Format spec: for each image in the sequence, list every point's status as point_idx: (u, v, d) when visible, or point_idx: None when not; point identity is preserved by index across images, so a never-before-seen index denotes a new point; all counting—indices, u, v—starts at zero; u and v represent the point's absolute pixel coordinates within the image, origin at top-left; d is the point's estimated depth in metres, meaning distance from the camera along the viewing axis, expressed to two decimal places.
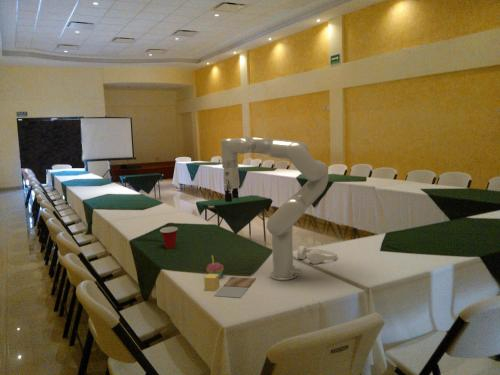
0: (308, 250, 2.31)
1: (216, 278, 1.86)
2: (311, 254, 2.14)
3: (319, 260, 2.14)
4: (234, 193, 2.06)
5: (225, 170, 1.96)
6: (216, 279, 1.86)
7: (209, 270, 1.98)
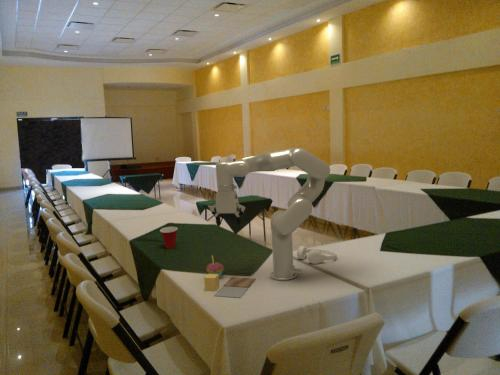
0: (308, 250, 2.31)
1: (216, 278, 1.86)
2: (311, 254, 2.14)
3: (319, 260, 2.14)
4: (219, 220, 1.94)
5: (234, 193, 1.89)
6: (216, 279, 1.86)
7: (209, 270, 1.98)
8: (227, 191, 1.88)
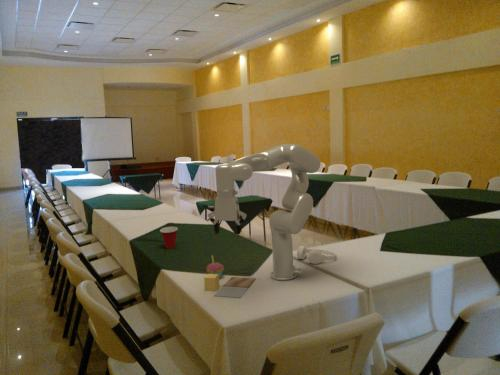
0: (308, 250, 2.31)
1: (216, 278, 1.86)
2: (311, 254, 2.14)
3: (319, 260, 2.14)
4: (217, 227, 1.80)
5: (235, 199, 1.75)
6: (216, 279, 1.86)
7: (209, 270, 1.98)
8: (227, 197, 1.73)
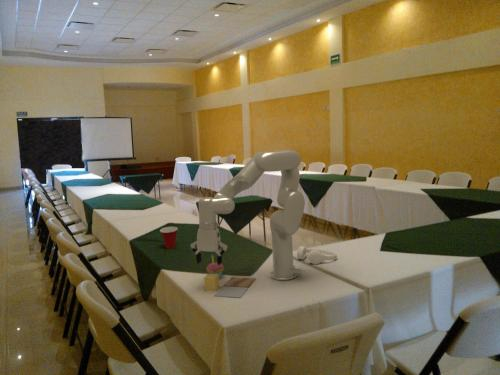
0: (308, 250, 2.31)
1: (216, 278, 1.86)
2: (311, 254, 2.14)
3: (319, 260, 2.14)
4: (199, 257, 1.87)
5: (216, 231, 1.82)
6: (216, 279, 1.86)
7: (209, 270, 1.98)
8: (209, 229, 1.81)
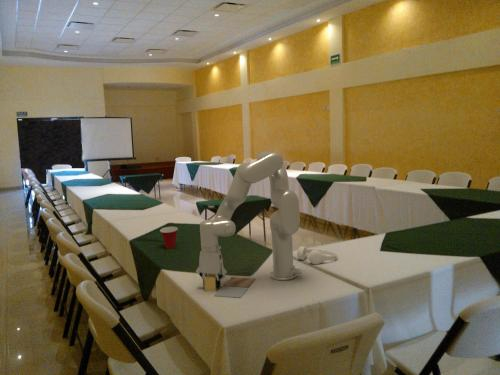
0: (307, 250, 2.31)
1: None
2: (312, 254, 2.13)
3: (320, 260, 2.14)
4: None
5: (218, 254, 1.84)
6: None
7: None
8: (211, 252, 1.82)
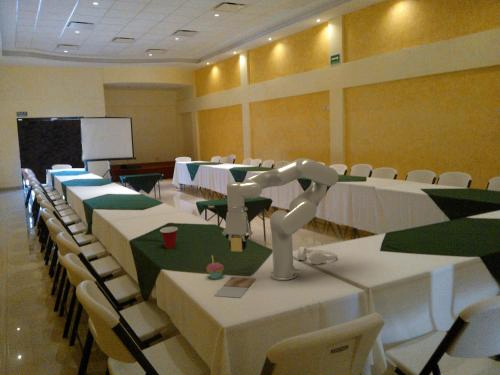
0: (307, 251, 2.30)
1: (242, 239, 1.90)
2: (313, 255, 2.13)
3: (321, 261, 2.13)
4: None
5: (245, 215, 1.88)
6: (242, 240, 1.90)
7: (209, 270, 1.98)
8: (238, 213, 1.86)
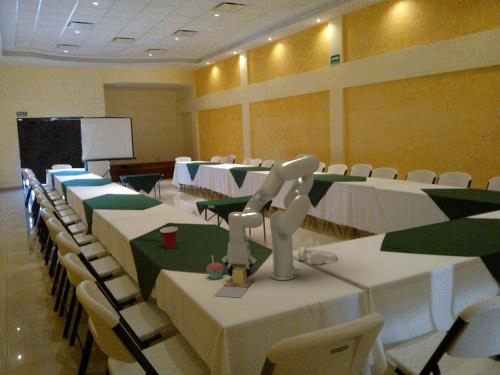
0: (307, 251, 2.29)
1: (244, 271, 1.92)
2: (314, 255, 2.12)
3: (321, 261, 2.13)
4: (231, 270, 1.94)
5: (246, 245, 1.89)
6: (244, 272, 1.92)
7: (209, 270, 1.98)
8: (239, 243, 1.88)
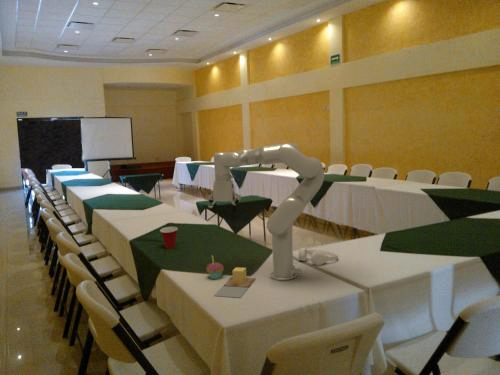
0: (307, 251, 2.29)
1: (244, 271, 1.92)
2: (315, 255, 2.12)
3: (322, 261, 2.12)
4: (215, 208, 2.05)
5: (231, 183, 2.00)
6: (244, 272, 1.92)
7: (209, 270, 1.98)
8: (224, 180, 1.98)
